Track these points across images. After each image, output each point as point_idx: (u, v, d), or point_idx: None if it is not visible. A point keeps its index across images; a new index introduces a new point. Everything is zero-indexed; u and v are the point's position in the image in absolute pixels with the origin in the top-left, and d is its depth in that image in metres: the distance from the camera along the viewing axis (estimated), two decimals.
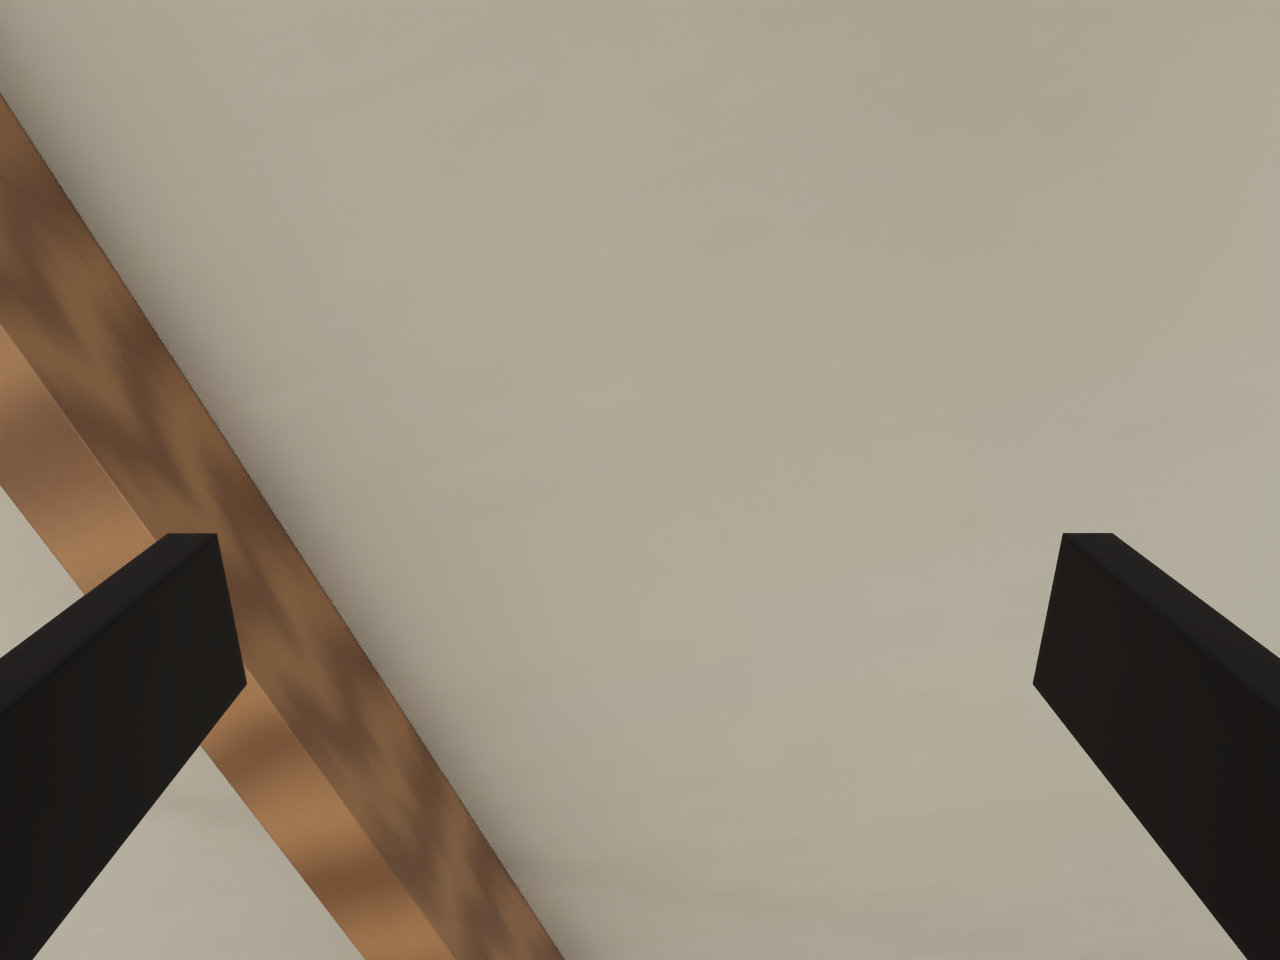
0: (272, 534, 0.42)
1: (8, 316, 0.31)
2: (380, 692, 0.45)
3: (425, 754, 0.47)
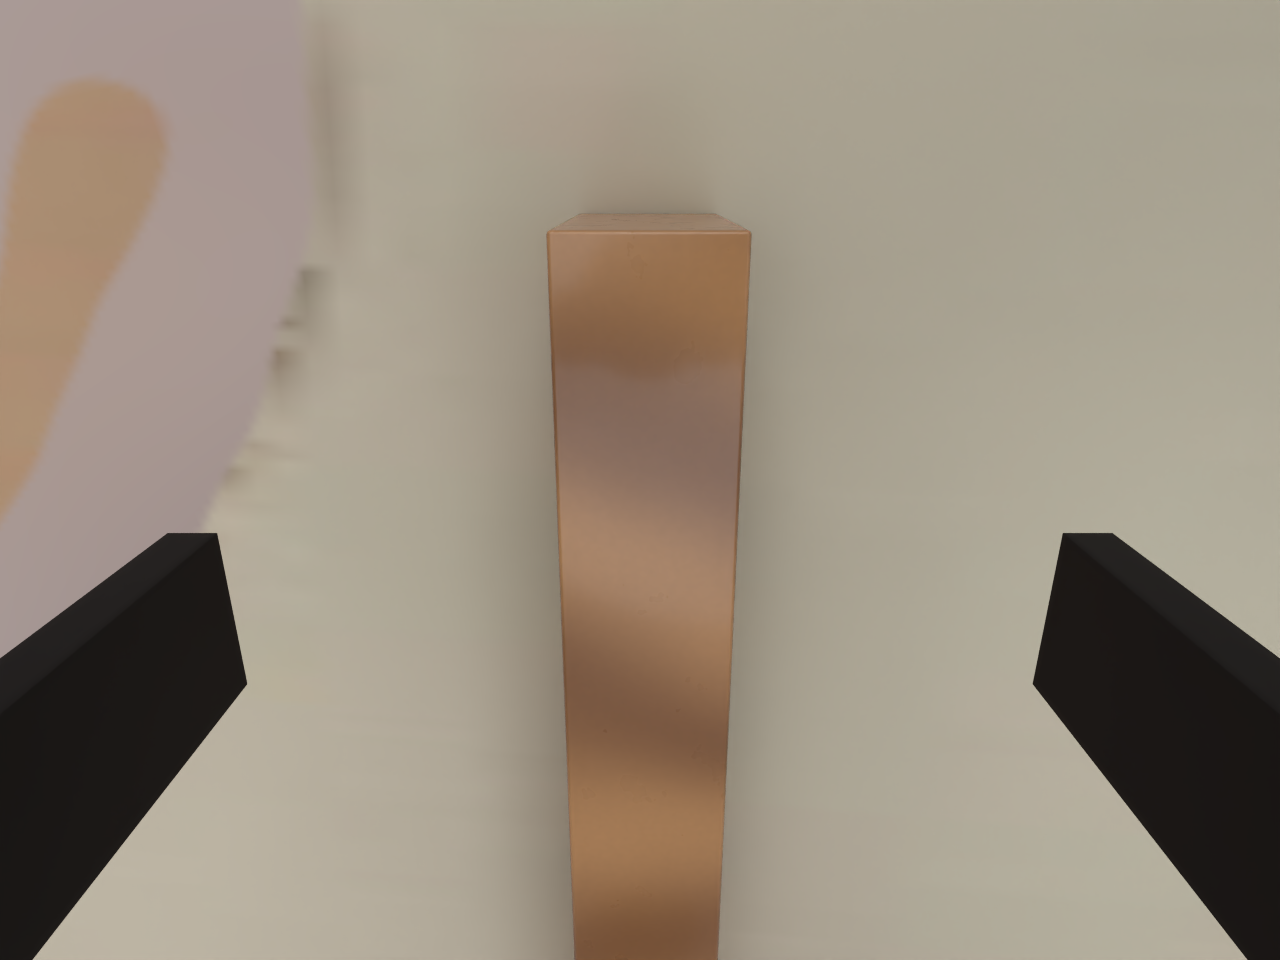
0: None
1: None
2: None
3: None
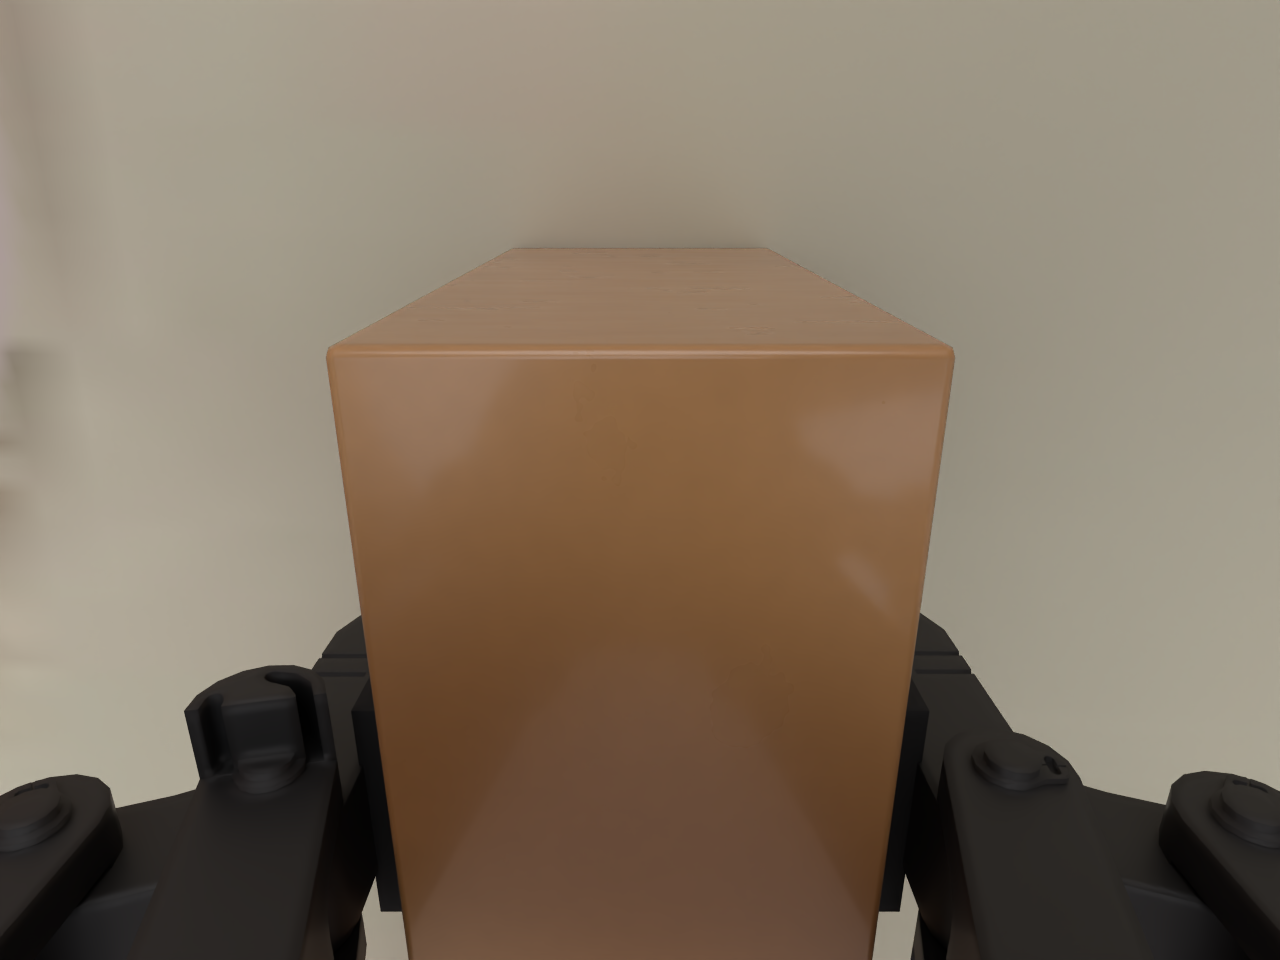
0: None
1: None
2: None
3: None
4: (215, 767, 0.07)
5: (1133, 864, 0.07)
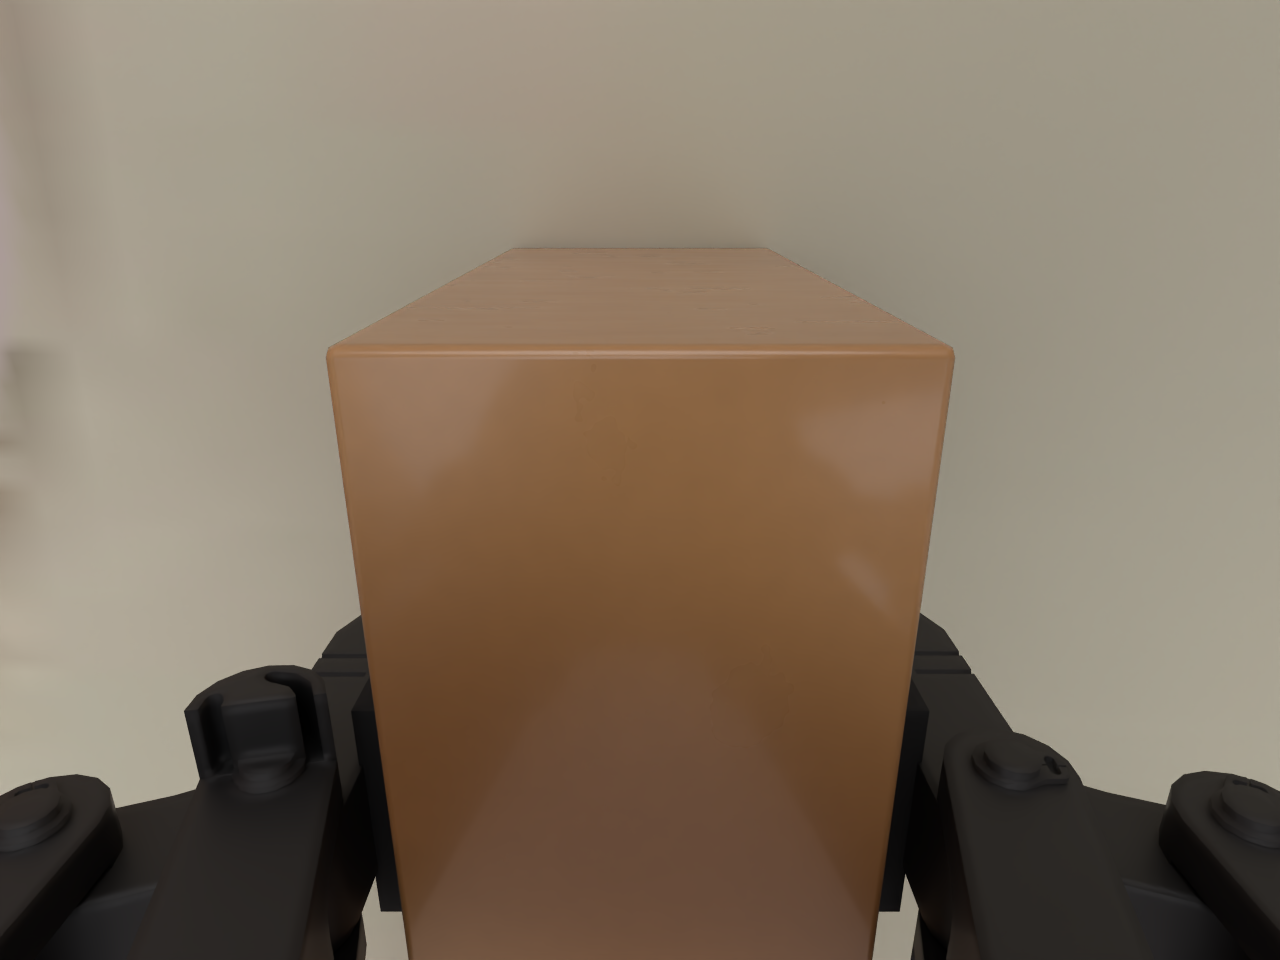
0: None
1: None
2: None
3: None
4: (215, 767, 0.07)
5: (1134, 864, 0.07)
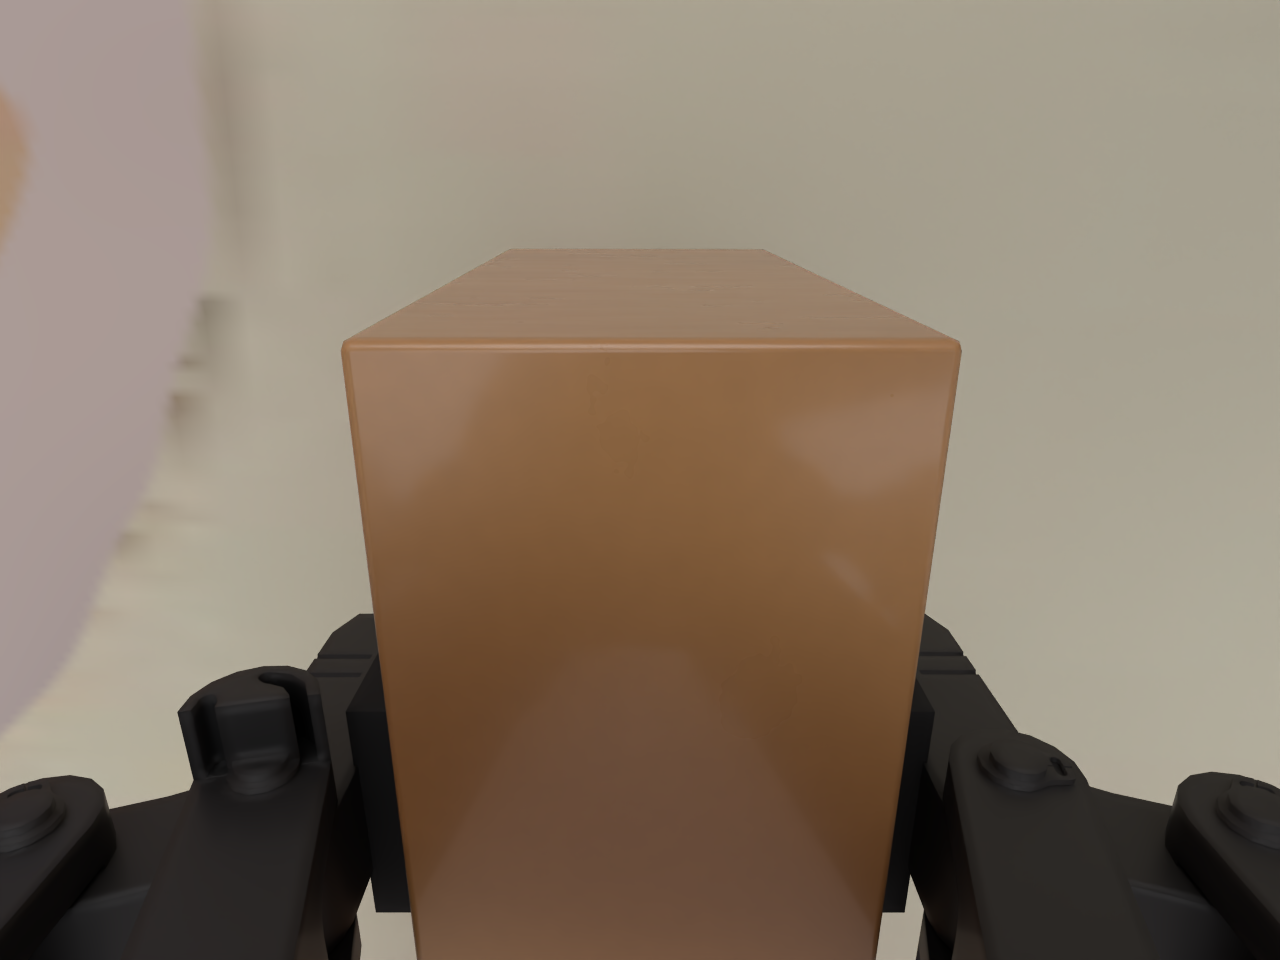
0: None
1: None
2: None
3: None
4: (208, 768, 0.07)
5: (1142, 867, 0.07)
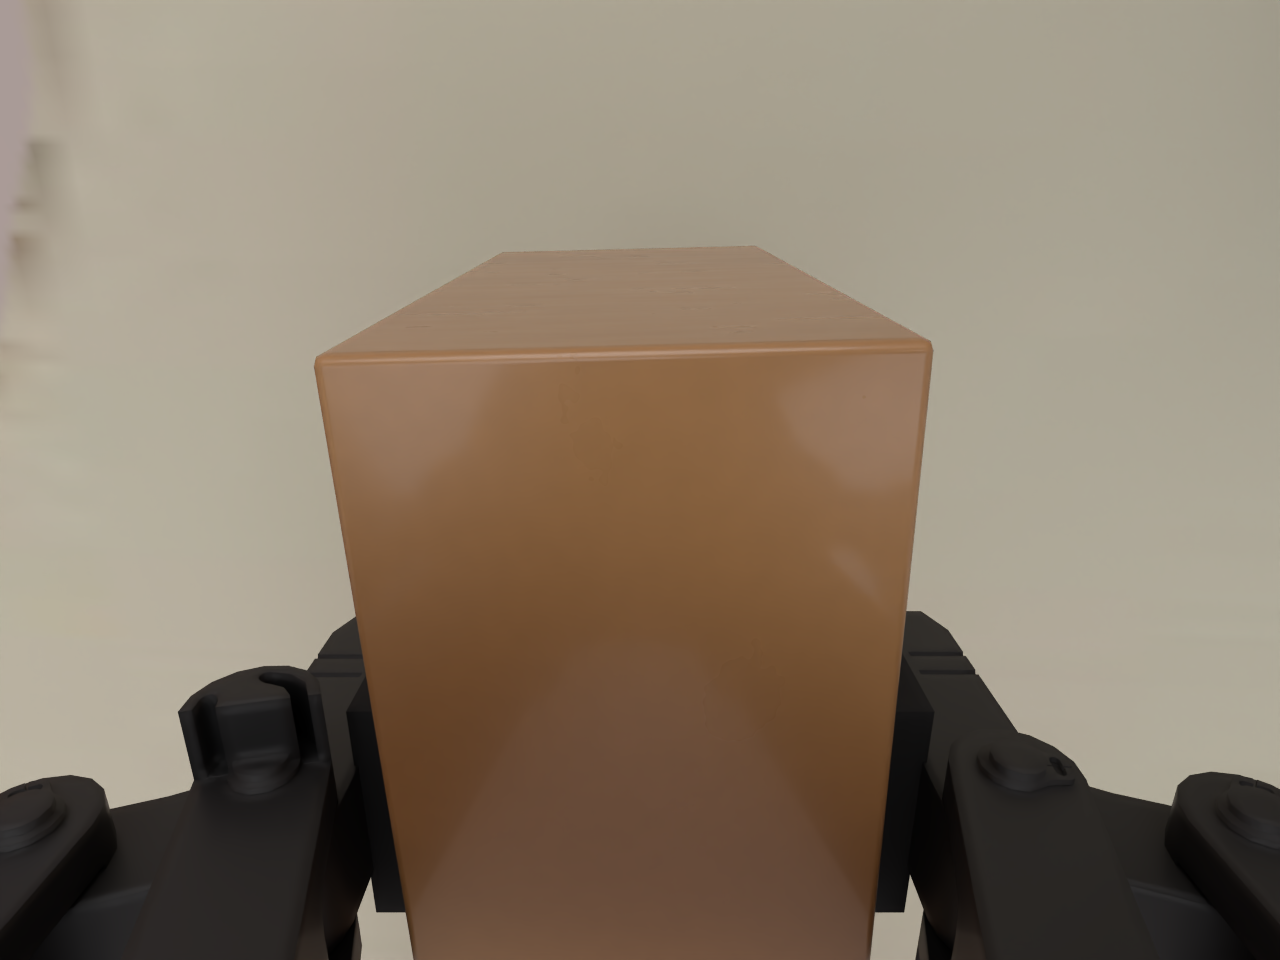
0: None
1: None
2: None
3: None
4: (209, 768, 0.07)
5: (1140, 866, 0.07)
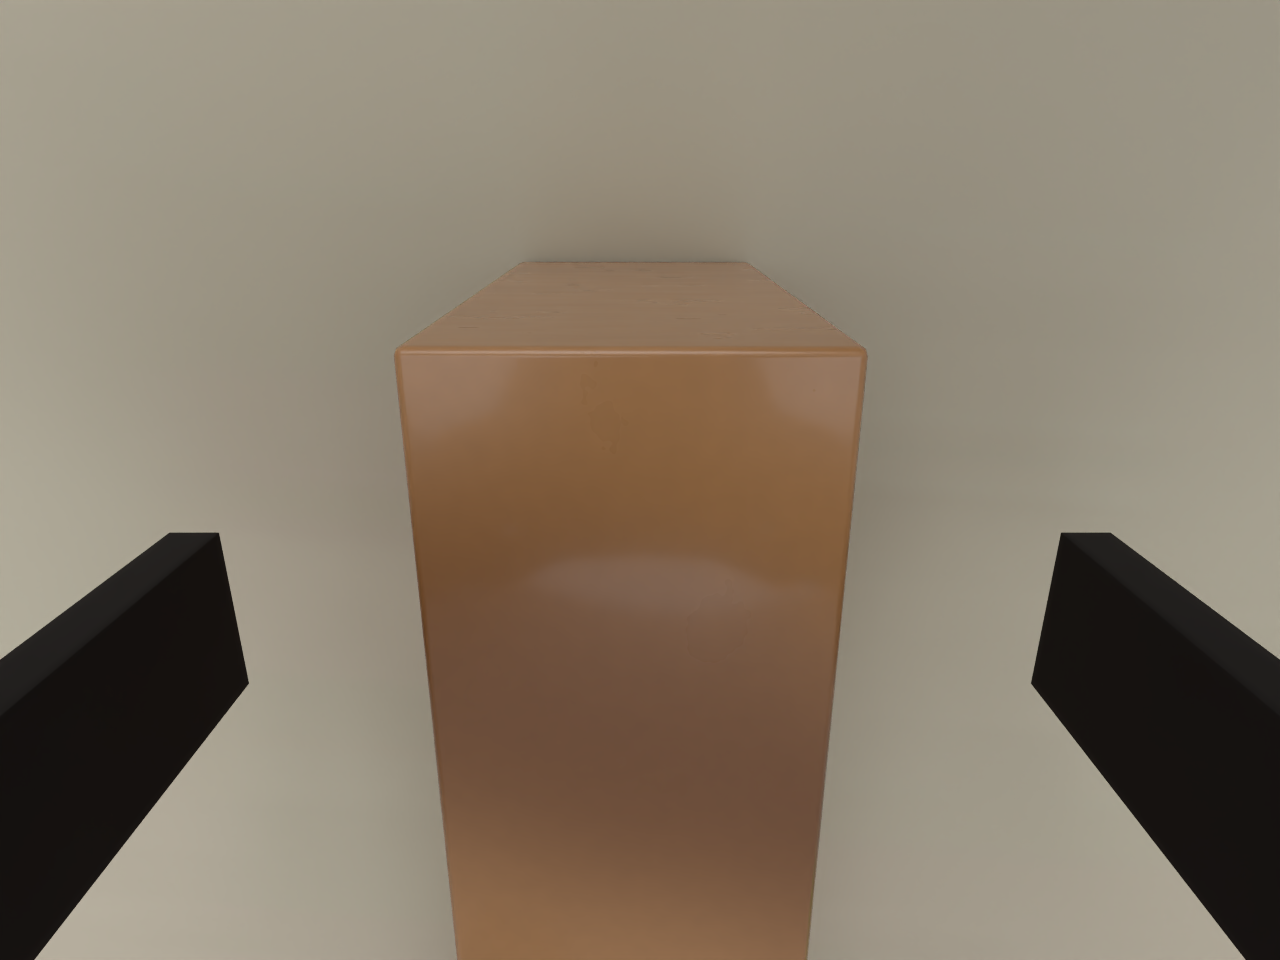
0: None
1: None
2: None
3: None
4: None
5: None
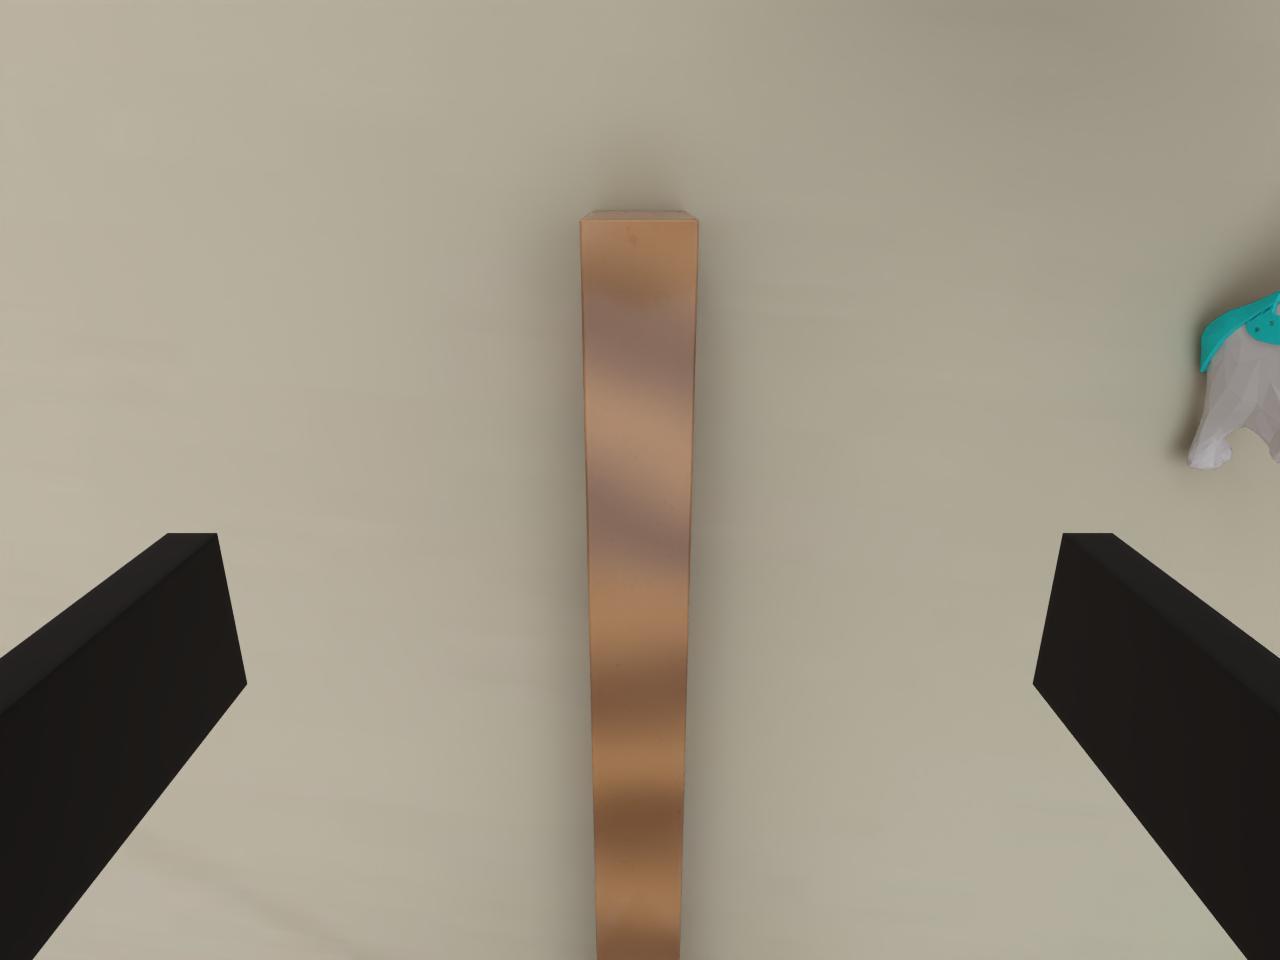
0: None
1: None
2: None
3: None
4: None
5: None
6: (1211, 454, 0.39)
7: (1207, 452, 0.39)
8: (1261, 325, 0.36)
